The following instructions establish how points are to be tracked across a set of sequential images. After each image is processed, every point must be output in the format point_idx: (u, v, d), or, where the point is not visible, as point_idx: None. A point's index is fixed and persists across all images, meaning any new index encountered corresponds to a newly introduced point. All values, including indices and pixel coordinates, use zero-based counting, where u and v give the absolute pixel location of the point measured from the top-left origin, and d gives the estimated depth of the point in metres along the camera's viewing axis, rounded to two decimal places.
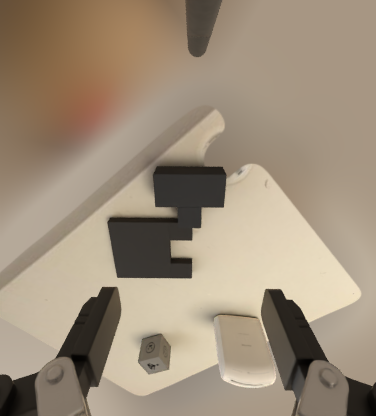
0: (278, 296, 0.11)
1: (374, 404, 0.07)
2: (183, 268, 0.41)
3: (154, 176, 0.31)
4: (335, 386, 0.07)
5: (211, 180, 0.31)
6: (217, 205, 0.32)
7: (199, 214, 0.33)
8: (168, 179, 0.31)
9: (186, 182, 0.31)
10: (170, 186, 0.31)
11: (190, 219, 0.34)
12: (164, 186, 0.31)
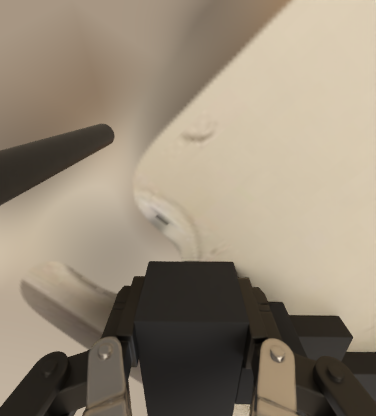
0: (245, 284, 0.12)
1: (319, 381, 0.08)
2: None
3: None
4: (282, 360, 0.08)
5: (155, 350, 0.10)
6: (239, 337, 0.10)
7: None
8: (159, 414, 0.13)
9: (165, 390, 0.12)
10: (176, 412, 0.13)
11: None
12: None
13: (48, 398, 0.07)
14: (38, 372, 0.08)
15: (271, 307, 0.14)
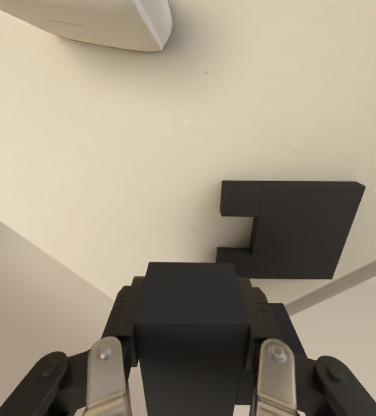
0: (245, 284, 0.12)
1: (319, 381, 0.08)
2: (237, 207, 0.23)
3: None
4: (282, 360, 0.08)
5: (155, 351, 0.10)
6: (239, 338, 0.10)
7: None
8: (159, 414, 0.13)
9: (165, 391, 0.12)
10: (176, 412, 0.13)
11: None
12: None
13: (48, 398, 0.07)
14: (38, 372, 0.08)
15: (271, 308, 0.14)
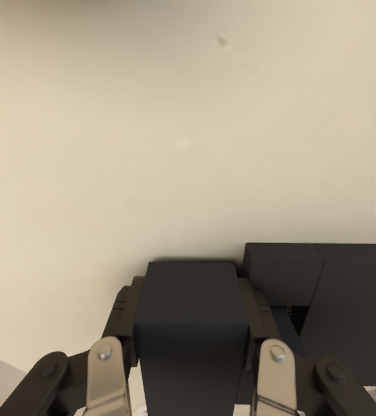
0: (245, 284, 0.12)
1: (319, 381, 0.08)
2: (273, 292, 0.13)
3: None
4: (282, 360, 0.08)
5: (155, 351, 0.10)
6: (239, 337, 0.10)
7: None
8: (160, 414, 0.13)
9: (166, 390, 0.12)
10: (176, 412, 0.13)
11: None
12: None
13: (47, 398, 0.07)
14: (38, 372, 0.08)
15: (271, 307, 0.14)
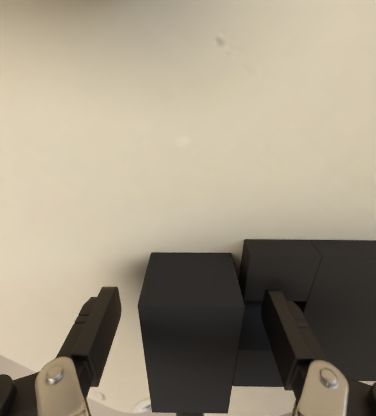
0: (278, 296, 0.11)
1: (374, 404, 0.07)
2: (270, 287, 0.13)
3: (156, 411, 0.15)
4: (335, 386, 0.07)
5: (157, 334, 0.11)
6: (235, 320, 0.11)
7: (259, 353, 0.12)
8: (161, 396, 0.14)
9: (167, 372, 0.13)
10: (177, 394, 0.14)
11: (272, 369, 0.12)
12: (178, 401, 0.14)
13: None
14: None
15: None
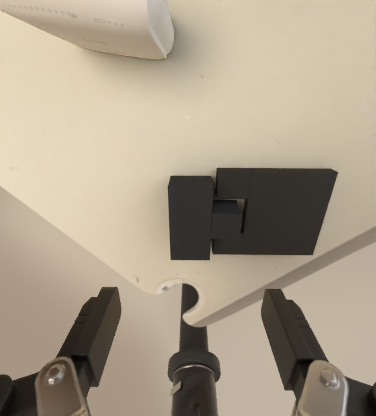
0: (278, 296, 0.11)
1: (374, 404, 0.07)
2: (229, 190, 0.27)
3: (173, 259, 0.29)
4: (335, 386, 0.07)
5: (176, 203, 0.25)
6: (210, 195, 0.25)
7: (222, 215, 0.26)
8: (176, 246, 0.28)
9: (179, 229, 0.27)
10: (183, 245, 0.28)
11: (229, 226, 0.26)
12: (184, 250, 0.28)
13: None
14: None
15: (229, 201, 0.29)
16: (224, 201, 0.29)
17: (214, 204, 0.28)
